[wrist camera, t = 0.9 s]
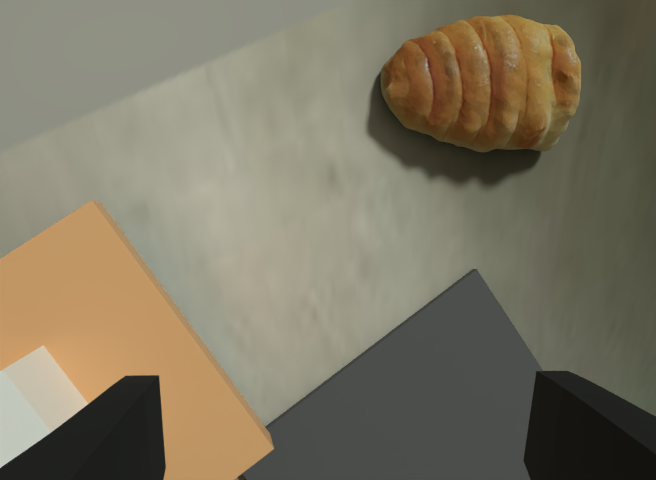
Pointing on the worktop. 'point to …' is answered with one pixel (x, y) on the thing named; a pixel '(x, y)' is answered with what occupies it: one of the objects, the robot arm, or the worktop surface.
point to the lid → (111, 349)
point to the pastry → (486, 83)
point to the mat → (418, 402)
